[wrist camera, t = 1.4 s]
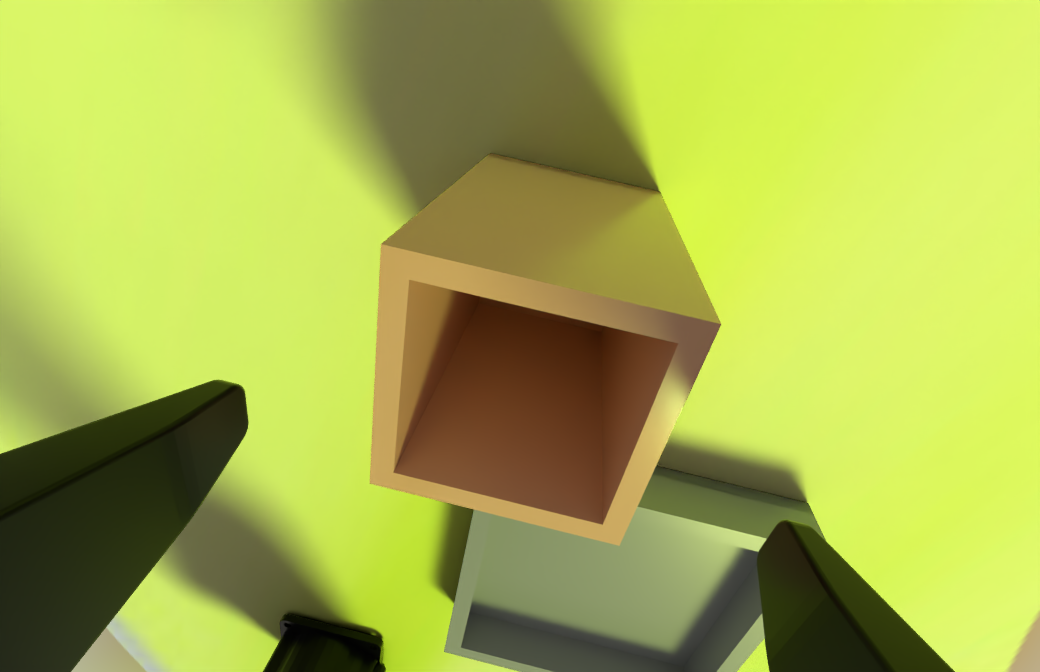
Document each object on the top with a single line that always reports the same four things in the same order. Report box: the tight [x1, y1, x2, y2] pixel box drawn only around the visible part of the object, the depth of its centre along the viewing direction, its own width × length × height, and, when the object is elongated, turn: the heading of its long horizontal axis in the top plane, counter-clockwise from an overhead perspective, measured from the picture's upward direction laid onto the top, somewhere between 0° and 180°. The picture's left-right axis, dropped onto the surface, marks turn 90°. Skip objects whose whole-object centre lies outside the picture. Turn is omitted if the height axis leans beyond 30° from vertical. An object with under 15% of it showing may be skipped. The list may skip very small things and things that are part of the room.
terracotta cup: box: [370, 153, 721, 546], centre depth 13 cm, size 6×6×9 cm
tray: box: [444, 466, 826, 672], centre depth 23 cm, size 14×14×2 cm
